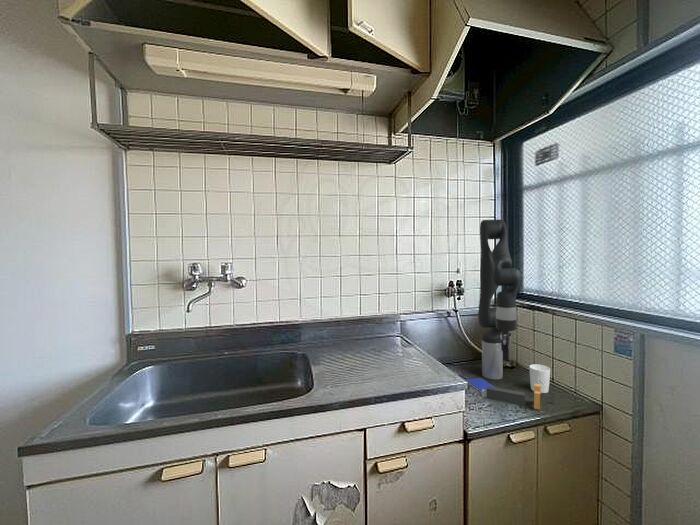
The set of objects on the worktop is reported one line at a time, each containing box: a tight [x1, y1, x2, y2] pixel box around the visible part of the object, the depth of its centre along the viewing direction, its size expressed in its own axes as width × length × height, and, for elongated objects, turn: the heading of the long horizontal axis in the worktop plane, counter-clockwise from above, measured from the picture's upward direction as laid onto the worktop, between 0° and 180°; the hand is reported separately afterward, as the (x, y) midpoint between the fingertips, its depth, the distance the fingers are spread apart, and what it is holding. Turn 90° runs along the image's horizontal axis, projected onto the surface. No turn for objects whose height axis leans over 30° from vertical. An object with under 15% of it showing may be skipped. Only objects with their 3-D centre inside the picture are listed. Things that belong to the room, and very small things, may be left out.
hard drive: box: [465, 377, 495, 394], centre depth 150 cm, size 2×8×12 cm
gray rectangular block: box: [481, 386, 526, 406], centre depth 137 cm, size 3×16×4 cm, turn 60°
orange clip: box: [533, 384, 541, 411], centre depth 131 cm, size 6×2×8 cm, turn 150°
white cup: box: [529, 363, 551, 394], centre depth 145 cm, size 8×8×10 cm
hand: (505, 359), depth 136 cm, fingers closed
